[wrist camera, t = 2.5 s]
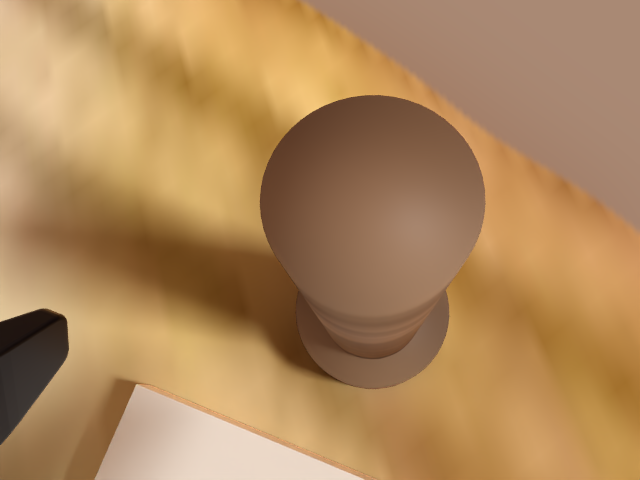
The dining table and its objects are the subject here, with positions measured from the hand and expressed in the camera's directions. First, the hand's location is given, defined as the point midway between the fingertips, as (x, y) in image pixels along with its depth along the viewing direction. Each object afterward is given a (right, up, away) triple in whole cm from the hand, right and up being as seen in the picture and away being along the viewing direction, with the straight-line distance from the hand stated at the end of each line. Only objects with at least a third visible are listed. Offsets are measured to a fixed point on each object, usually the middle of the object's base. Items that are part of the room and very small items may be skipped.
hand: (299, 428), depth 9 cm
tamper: (+2, 0, +11) cm, 11 cm away
